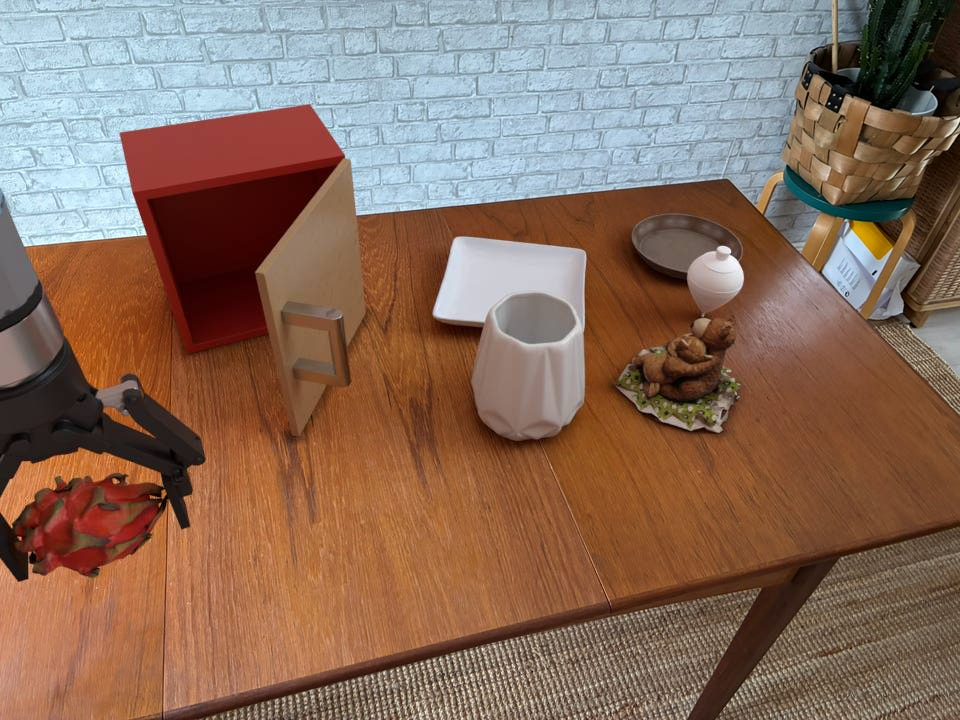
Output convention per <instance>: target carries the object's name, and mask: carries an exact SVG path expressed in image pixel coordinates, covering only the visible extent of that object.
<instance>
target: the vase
mask: <svg viewBox="0 0 960 720" xmlns="http://www.w3.org/2000/svg"><path fill="white" fill-rule="evenodd" d="M584 335H585V334H584V332H583V328H582V324H581V321H580V319H579V317H578V316H577V312H576V310H575V308H574V307H573V306H572V305H571V304H570V303H569V302H567V301H566V300H565V299H563V298H561V297H556V296H555V295H554V294H551V293H547V292H543V291H526V292H524V291H519V292H514V293H511V294H508V295H506V296H505V297H503V298H502V299H501V300H500V301H499V302H497V303H496V304H495V305H494V306H493V307H492V308H491V309H490V310H489V312H488V314H487V316H486V319H485V323H484V327H482V331H481V335H480V338H479V342H478V346H477V350H476V354H475V358H474V363H473V367H472V374H471V380H470V383H471V388H472V391H473V396H474V403H475V408H476V409H477V415H478V417H479V418H480V420H481V421H482V422H483V424H484V425H486V426H487V427H488V428H489V429H490V430H492V431H493V432H495V433H496V435H499V436H501V437H503V438H506V439H508V440H512V441H515V442H520V441H525V440H526V441H527V440H536V441H537V440H540V439H544V438H552V437H556V435H558V434H559V433H560V432H561V431H562V428H563V427H565V426H569V425H570V424H571V422H572V421H573V419H574V418H575V415H576V413H577V412H578V411H579V410H580V409H581V408H582V407H583V405H584V403H585V393H586V367H585V366H586V365H585V362H586V361H585V338H584V337H585V336H584Z"/></svg>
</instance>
